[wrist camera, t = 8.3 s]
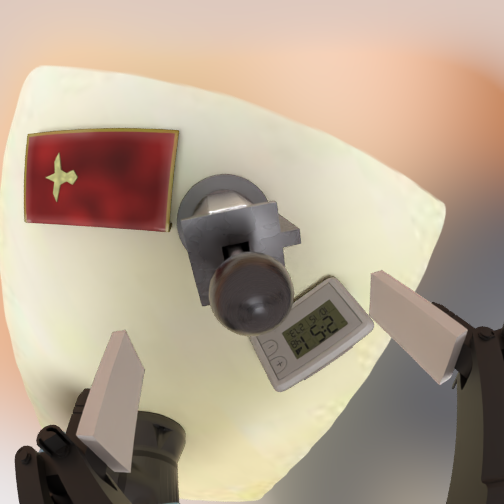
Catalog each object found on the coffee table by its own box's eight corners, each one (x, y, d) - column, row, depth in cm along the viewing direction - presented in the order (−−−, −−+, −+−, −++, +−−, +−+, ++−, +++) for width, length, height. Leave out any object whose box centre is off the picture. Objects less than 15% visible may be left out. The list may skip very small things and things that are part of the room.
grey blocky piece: (199, 260, 35) (198, 311, 23) (185, 196, 32) (174, 217, 20) (275, 244, 36) (311, 285, 24) (266, 181, 33) (301, 192, 21)
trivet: (189, 273, 36) (189, 275, 36) (168, 185, 32) (167, 185, 31) (275, 254, 38) (277, 256, 37) (262, 166, 34) (264, 167, 33)
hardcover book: (172, 226, 34) (168, 235, 31) (38, 218, 30) (23, 225, 26) (181, 133, 31) (178, 130, 27) (42, 135, 27) (26, 134, 23)
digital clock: (335, 269, 40) (372, 302, 30) (348, 313, 44) (380, 349, 34) (238, 316, 40) (250, 363, 30) (261, 356, 43) (276, 402, 33)
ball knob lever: (209, 251, 32) (222, 361, 14) (201, 210, 31) (199, 283, 13) (250, 242, 33) (308, 340, 15) (244, 202, 31) (302, 260, 13)
